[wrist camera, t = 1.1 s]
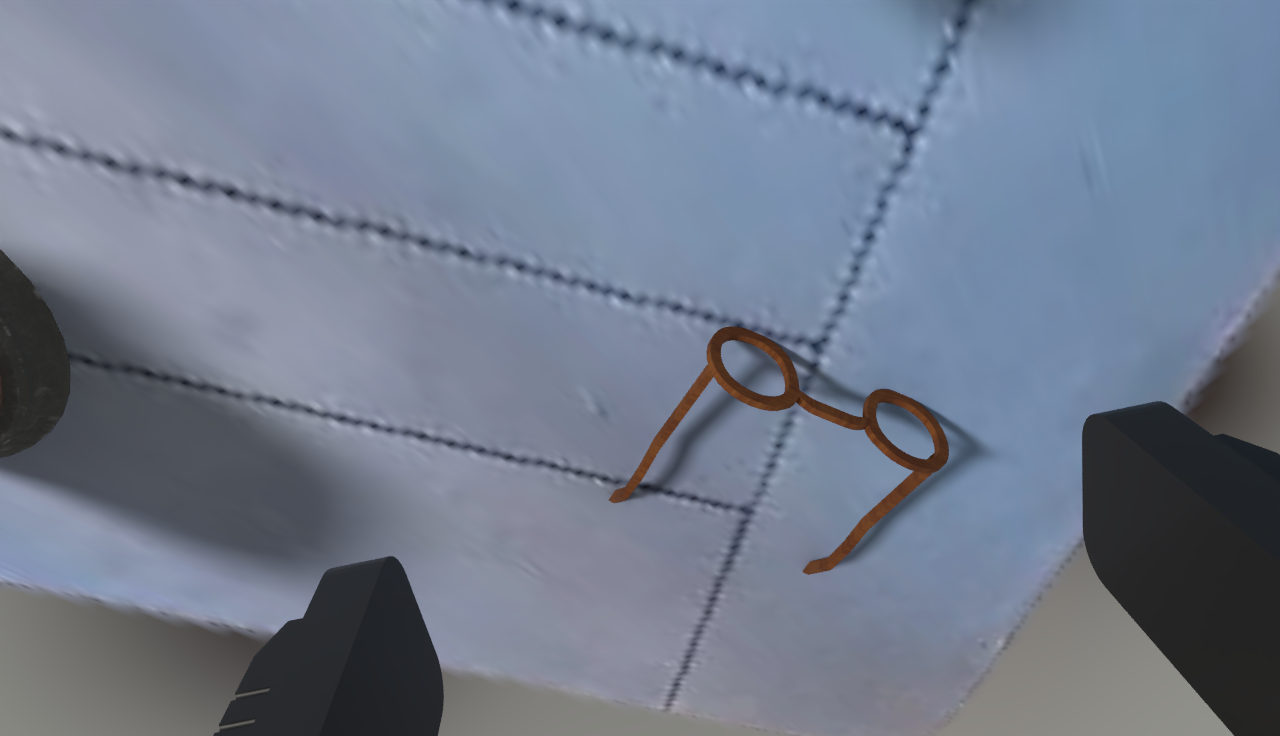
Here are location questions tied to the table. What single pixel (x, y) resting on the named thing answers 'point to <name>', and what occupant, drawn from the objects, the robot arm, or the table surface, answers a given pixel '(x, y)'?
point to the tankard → (28, 363)
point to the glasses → (819, 409)
